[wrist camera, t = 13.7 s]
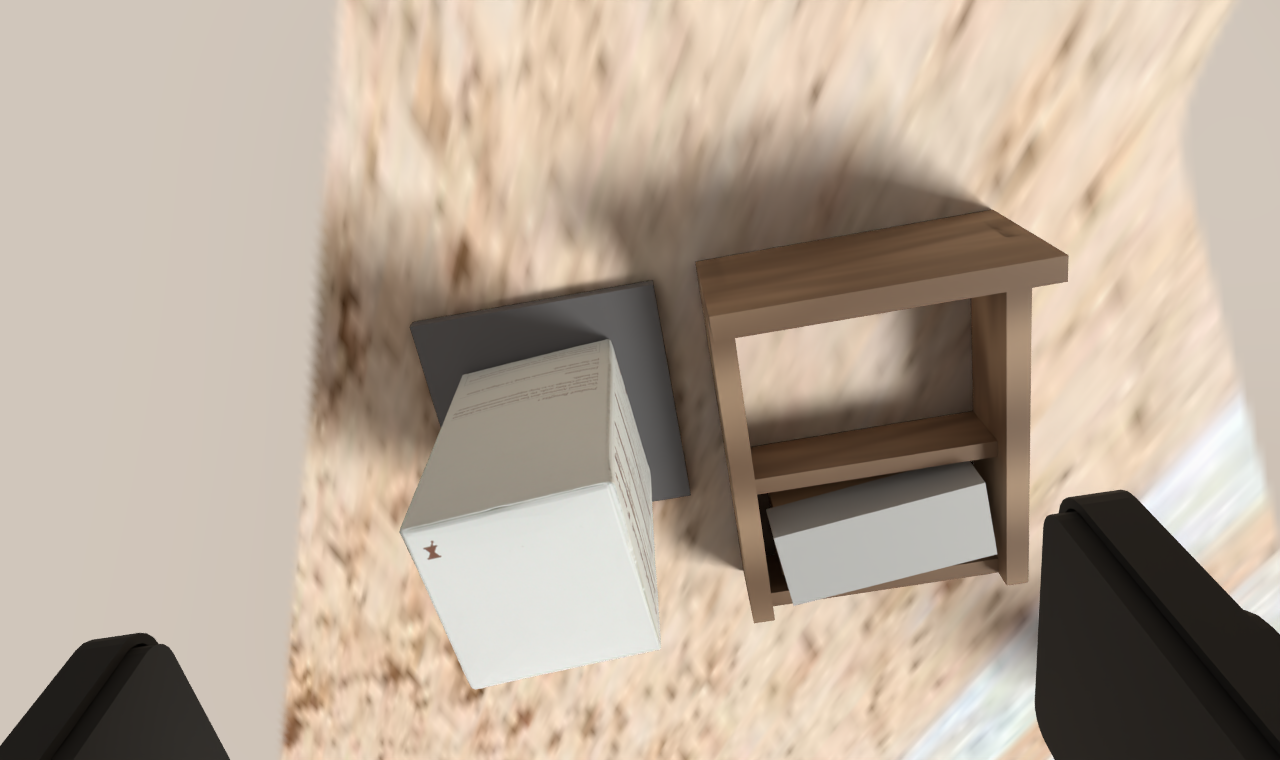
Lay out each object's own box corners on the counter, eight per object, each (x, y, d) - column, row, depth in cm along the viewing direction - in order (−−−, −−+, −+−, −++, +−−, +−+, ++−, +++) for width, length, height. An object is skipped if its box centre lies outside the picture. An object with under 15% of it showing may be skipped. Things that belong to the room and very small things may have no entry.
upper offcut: (765, 509, 41) (773, 538, 39) (966, 455, 40) (985, 482, 38) (785, 574, 43) (793, 605, 41) (978, 524, 42) (997, 554, 40)
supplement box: (508, 504, 42) (464, 696, 31) (459, 370, 39) (390, 528, 28) (654, 472, 42) (665, 656, 30) (616, 333, 39) (612, 479, 27)
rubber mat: (412, 322, 39) (409, 326, 38) (652, 280, 38) (652, 284, 38) (474, 523, 43) (472, 530, 43) (689, 489, 43) (690, 495, 42)
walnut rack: (695, 261, 38) (708, 316, 32) (992, 209, 37) (1068, 255, 31) (743, 571, 45) (763, 668, 39) (995, 533, 44) (1057, 625, 38)
